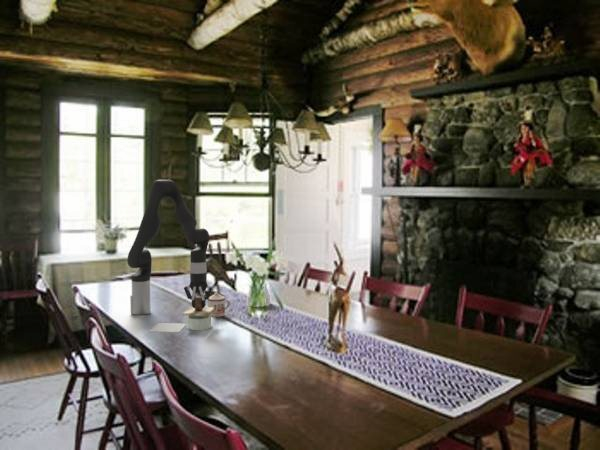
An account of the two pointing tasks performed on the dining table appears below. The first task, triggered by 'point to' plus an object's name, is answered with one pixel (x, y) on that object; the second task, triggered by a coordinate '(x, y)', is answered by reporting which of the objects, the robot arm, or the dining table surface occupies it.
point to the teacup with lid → (217, 305)
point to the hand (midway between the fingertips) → (198, 307)
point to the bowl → (198, 322)
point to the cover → (198, 309)
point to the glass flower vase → (265, 295)
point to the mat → (168, 327)
